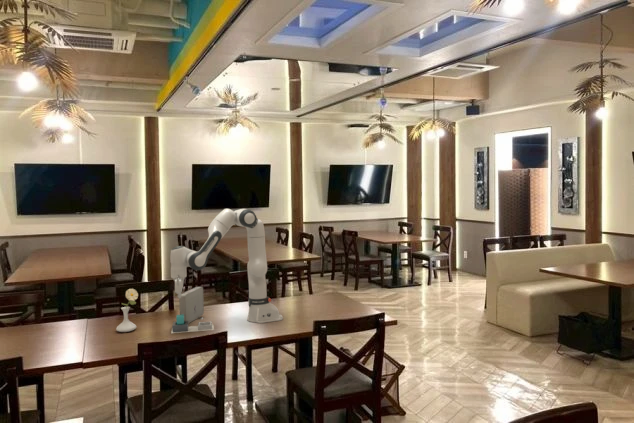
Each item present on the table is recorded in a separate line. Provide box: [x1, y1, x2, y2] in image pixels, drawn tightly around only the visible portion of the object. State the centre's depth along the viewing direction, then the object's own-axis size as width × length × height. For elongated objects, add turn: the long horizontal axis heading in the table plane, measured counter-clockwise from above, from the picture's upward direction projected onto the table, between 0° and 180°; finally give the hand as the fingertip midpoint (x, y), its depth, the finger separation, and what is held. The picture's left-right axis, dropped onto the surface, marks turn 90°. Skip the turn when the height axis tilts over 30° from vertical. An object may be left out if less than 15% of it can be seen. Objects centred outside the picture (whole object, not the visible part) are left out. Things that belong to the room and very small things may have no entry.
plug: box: [176, 314, 184, 325], centre depth 287 cm, size 4×4×8 cm
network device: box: [178, 286, 205, 324], centre depth 308 cm, size 26×9×20 cm, turn 168°
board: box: [170, 324, 215, 334], centre depth 288 cm, size 24×11×2 cm, turn 103°
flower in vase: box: [115, 288, 139, 333], centre depth 292 cm, size 13×11×25 cm
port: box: [171, 320, 189, 333], centre depth 287 cm, size 8×8×4 cm
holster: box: [197, 321, 213, 331], centre depth 290 cm, size 8×8×2 cm
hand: (179, 297), depth 286 cm, fingers closed
